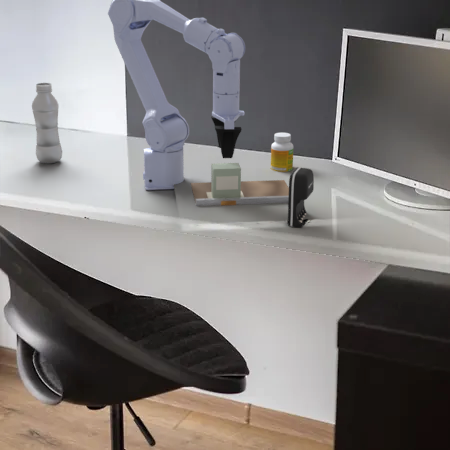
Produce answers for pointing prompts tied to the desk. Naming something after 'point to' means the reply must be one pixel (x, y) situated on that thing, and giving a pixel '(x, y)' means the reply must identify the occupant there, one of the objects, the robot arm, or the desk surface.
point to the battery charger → (299, 195)
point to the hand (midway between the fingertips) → (225, 152)
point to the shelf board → (244, 193)
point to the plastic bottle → (46, 124)
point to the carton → (225, 180)
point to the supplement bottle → (282, 153)
